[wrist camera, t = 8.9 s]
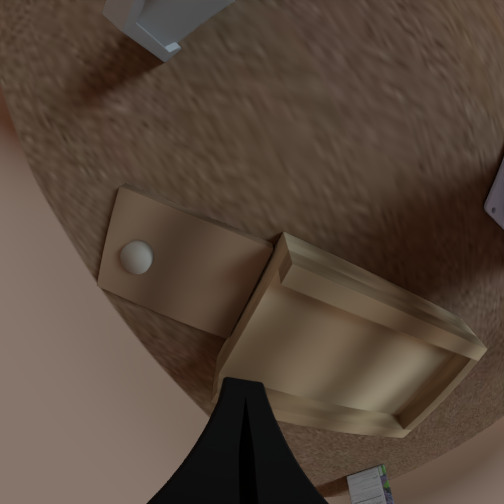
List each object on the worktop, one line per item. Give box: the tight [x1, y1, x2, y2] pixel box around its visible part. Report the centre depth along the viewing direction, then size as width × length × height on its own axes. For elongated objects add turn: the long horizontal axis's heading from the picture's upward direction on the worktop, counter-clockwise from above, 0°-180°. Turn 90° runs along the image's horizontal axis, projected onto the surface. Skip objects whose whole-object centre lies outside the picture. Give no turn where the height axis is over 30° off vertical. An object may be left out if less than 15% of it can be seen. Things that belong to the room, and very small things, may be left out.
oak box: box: [211, 232, 487, 438], centre depth 19 cm, size 18×11×5 cm, turn 65°
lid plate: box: [97, 184, 273, 339], centre depth 19 cm, size 10×7×2 cm
